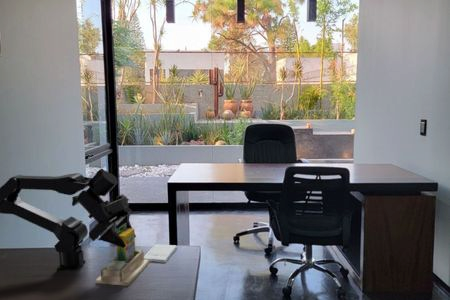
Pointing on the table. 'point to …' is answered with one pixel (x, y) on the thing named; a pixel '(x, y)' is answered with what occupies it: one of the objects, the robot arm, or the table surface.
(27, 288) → the table surface
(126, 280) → the organizer
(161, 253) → the external hard drive
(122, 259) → the crayon box
